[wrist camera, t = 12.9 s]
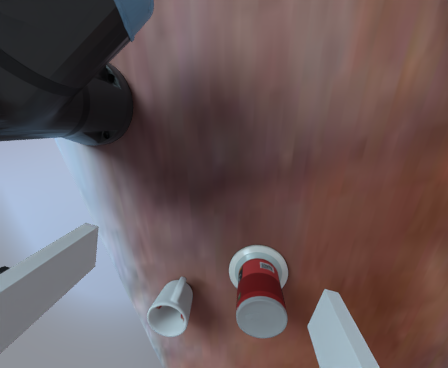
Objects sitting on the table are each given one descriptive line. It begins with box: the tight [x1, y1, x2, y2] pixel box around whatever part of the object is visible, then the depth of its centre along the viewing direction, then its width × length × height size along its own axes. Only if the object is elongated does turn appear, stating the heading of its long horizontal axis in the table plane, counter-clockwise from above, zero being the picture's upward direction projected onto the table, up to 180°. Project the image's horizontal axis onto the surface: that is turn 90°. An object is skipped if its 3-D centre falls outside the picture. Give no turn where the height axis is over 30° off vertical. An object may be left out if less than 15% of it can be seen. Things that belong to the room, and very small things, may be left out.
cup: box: [147, 277, 193, 337], centre depth 44 cm, size 11×8×8 cm
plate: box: [229, 245, 288, 289], centre depth 44 cm, size 12×12×1 cm
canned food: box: [236, 258, 287, 338], centre depth 38 cm, size 8×8×11 cm
